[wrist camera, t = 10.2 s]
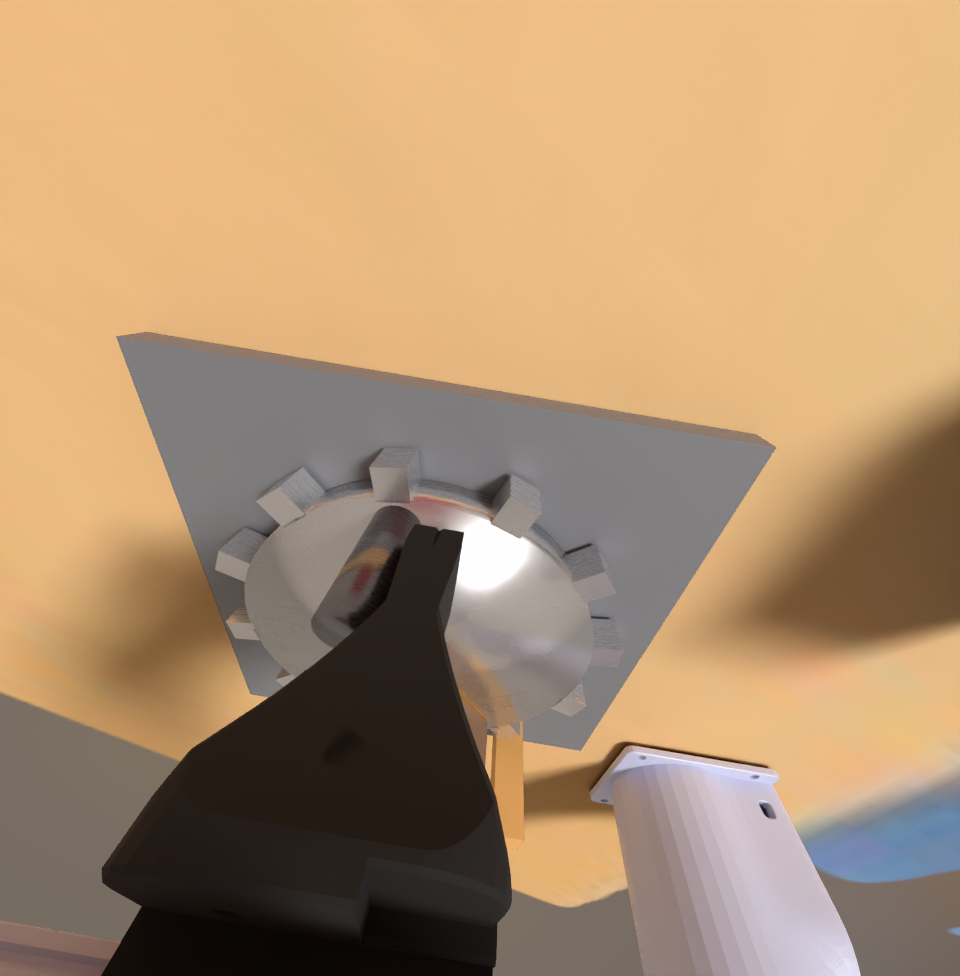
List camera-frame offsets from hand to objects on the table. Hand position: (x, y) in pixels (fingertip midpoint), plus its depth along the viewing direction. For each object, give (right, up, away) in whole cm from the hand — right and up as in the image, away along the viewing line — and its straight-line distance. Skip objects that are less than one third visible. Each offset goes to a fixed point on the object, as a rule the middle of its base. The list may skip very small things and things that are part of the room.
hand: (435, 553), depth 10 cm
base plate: (-1, -3, +6) cm, 7 cm away
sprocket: (-1, -4, +5) cm, 6 cm away
